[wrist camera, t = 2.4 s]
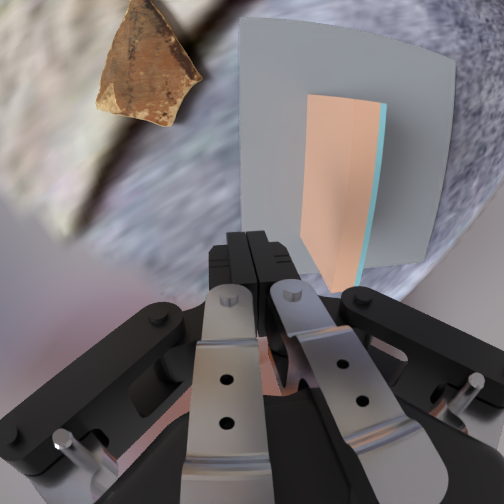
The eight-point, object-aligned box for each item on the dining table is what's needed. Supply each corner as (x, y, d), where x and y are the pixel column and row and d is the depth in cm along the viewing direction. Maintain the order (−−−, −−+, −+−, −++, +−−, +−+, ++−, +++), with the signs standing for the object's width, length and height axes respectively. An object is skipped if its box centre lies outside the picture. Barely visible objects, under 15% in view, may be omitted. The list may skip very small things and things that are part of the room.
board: (238, 21, 17) (240, 17, 16) (447, 60, 20) (455, 60, 19) (241, 271, 29) (243, 278, 28) (417, 256, 31) (423, 261, 30)
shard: (142, -12, 15) (137, -19, 13) (233, 8, 17) (235, 1, 16) (97, 108, 20) (89, 110, 18) (184, 129, 22) (182, 132, 20)
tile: (307, 94, 20) (354, 98, 13) (332, 96, 20) (386, 103, 13) (299, 236, 26) (331, 292, 19) (321, 235, 26) (358, 289, 19)
